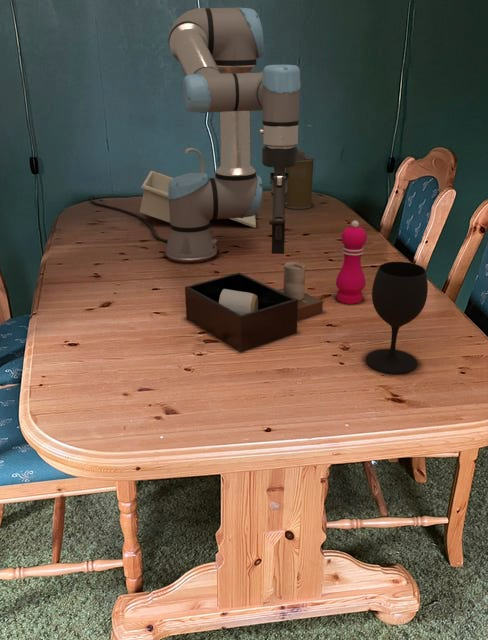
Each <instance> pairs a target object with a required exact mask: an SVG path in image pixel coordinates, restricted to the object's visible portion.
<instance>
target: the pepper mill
mask: <svg viewBox="0 0 488 640" xmlns="http://www.w3.org/2000/svg"><path fill="white" fill-rule="evenodd" d="M350 225H351V226H348V227H346V228H345V229H344V230H343V231H342V233H341V237H340V239H341V242H342V244H343V246H342V253H343V258H344V259H343V263H342V267H341V268H340V270H339V271H338V273H337V276H336V279H335V286H336V288H337V289H338V290H337V292H336V300H337V301H338V302H340V303H342V304H348V305H354V304H355V305H356V304H359V303H362V301H363V294H364V293H363V292H362V291H363V290H364V289H365V287H366V277H365V273H364V270H363V267H362V264H361V263H362V255H364V249H365V247H364V245H365V244H366V243H367V241H368V236H367V232H366V230H365V229H364V228H363V227H360V222H359V221H358V220H352V221H351V224H350Z"/></svg>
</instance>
